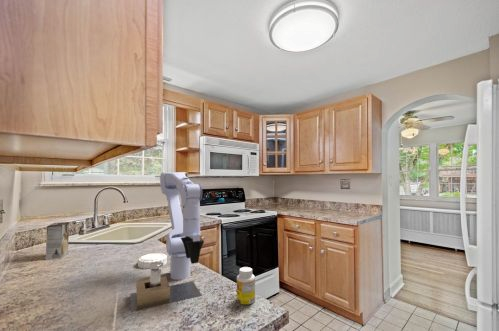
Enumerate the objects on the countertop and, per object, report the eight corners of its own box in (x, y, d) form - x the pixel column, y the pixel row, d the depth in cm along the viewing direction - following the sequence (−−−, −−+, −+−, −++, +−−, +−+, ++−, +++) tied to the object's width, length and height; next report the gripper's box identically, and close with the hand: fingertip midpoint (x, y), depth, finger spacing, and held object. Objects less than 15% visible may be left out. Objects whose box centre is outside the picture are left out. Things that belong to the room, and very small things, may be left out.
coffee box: (52, 254, 119) (54, 222, 120) (68, 253, 121) (69, 221, 122) (45, 260, 111) (46, 225, 112) (61, 258, 113) (63, 224, 114)
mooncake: (138, 262, 108) (138, 254, 109) (165, 258, 113) (165, 250, 113) (137, 271, 97) (137, 262, 98) (167, 266, 102) (168, 258, 102)
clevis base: (130, 296, 76) (131, 280, 76) (192, 283, 85) (192, 269, 85) (130, 315, 65) (131, 297, 65) (202, 298, 74) (202, 282, 74)
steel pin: (146, 295, 74) (149, 262, 75) (160, 293, 76) (162, 261, 76) (147, 301, 70) (149, 267, 71) (161, 299, 72) (163, 265, 73)
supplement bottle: (237, 299, 74) (237, 265, 74) (255, 299, 74) (254, 265, 74) (236, 308, 68) (236, 272, 69) (255, 308, 68) (255, 272, 69)
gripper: (176, 218, 85) (176, 257, 84) (183, 221, 72) (183, 267, 71) (195, 216, 88) (196, 254, 87) (205, 219, 75) (206, 263, 74)
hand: (192, 260), depth 79 cm, fingers open, 7 cm apart
